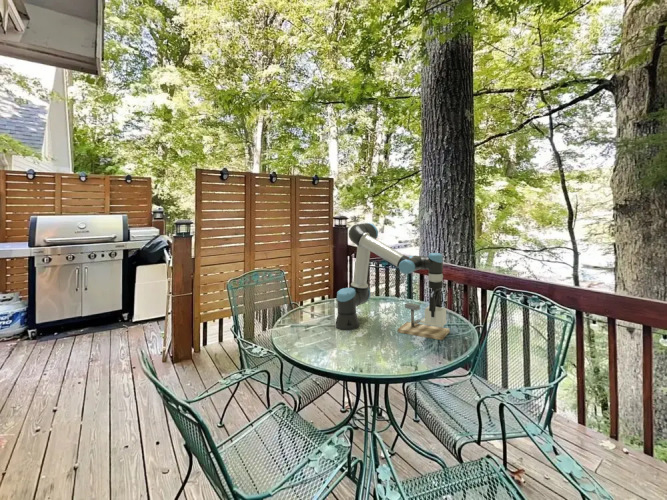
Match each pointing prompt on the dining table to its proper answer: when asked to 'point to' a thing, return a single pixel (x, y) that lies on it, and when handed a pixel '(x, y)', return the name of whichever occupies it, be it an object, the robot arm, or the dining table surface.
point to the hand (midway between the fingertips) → (435, 320)
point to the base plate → (424, 331)
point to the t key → (413, 307)
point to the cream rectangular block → (439, 317)
